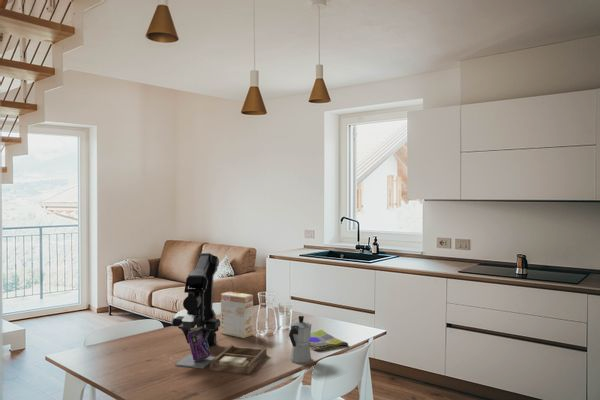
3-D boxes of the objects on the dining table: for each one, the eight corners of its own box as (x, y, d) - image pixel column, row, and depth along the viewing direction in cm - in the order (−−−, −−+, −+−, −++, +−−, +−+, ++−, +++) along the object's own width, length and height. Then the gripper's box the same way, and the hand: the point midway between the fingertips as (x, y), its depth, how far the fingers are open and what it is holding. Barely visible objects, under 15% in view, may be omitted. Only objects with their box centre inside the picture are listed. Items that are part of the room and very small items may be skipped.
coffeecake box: (253, 335, 228) (253, 294, 228) (243, 338, 222) (244, 297, 222) (229, 330, 236) (229, 291, 236) (219, 333, 230) (220, 293, 230)
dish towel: (323, 333, 233) (323, 328, 233) (350, 348, 212) (350, 342, 212) (291, 338, 226) (291, 332, 226) (316, 353, 204) (316, 347, 204)
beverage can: (202, 361, 185) (194, 331, 186) (190, 362, 189) (182, 333, 189) (214, 354, 191) (207, 325, 192) (202, 355, 195) (195, 327, 195)
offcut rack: (209, 370, 182) (209, 362, 182) (230, 351, 203) (230, 344, 203) (248, 374, 178) (249, 366, 178) (266, 355, 200) (266, 348, 200)
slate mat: (175, 365, 186) (175, 364, 186) (189, 355, 198) (189, 354, 198) (203, 368, 184) (203, 366, 184) (215, 358, 195) (215, 356, 195)
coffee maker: (299, 353, 202) (299, 311, 202) (317, 357, 197) (318, 314, 197) (280, 364, 189) (280, 319, 189) (299, 368, 185) (299, 322, 184)
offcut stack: (217, 370, 183) (217, 360, 183) (223, 364, 189) (223, 355, 189) (244, 372, 181) (244, 363, 181) (249, 367, 187) (249, 357, 187)
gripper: (165, 308, 185) (164, 348, 185) (209, 311, 181) (209, 352, 181) (178, 302, 196) (178, 339, 196) (221, 305, 191) (220, 343, 192)
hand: (196, 343), depth 191 cm, fingers closed on beverage can, 6 cm apart
